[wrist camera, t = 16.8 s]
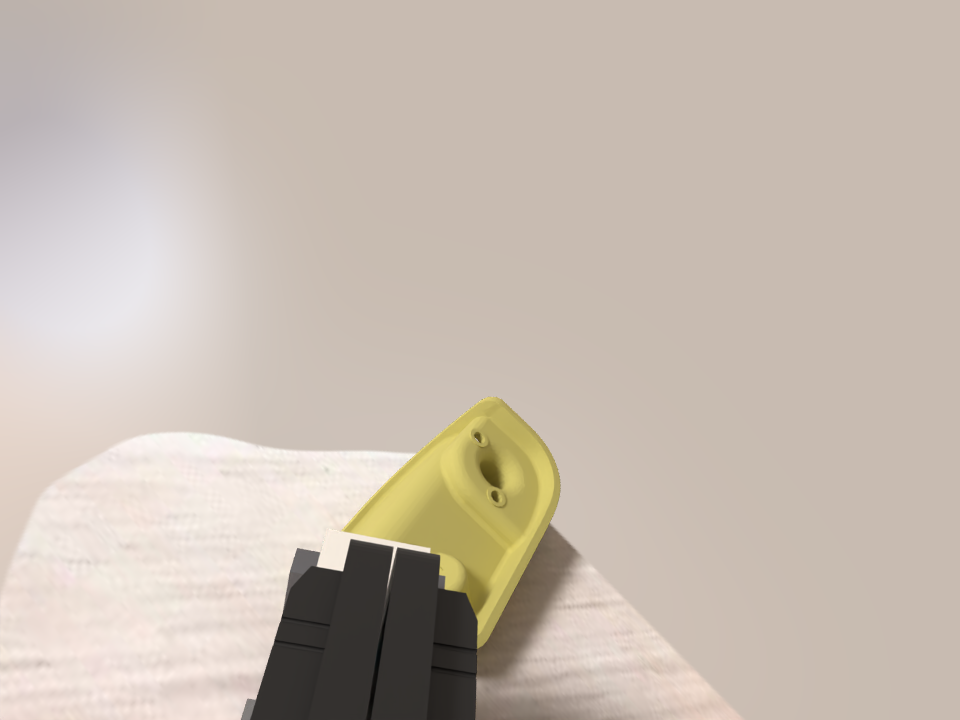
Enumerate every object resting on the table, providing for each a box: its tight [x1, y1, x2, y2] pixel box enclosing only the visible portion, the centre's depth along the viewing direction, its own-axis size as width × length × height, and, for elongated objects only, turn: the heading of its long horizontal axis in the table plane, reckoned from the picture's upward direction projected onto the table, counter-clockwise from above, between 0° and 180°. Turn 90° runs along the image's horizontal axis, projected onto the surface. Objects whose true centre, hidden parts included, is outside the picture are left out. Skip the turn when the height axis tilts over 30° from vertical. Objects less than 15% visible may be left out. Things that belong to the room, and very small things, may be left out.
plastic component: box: [342, 397, 560, 649], centre depth 52 cm, size 20×7×10 cm
